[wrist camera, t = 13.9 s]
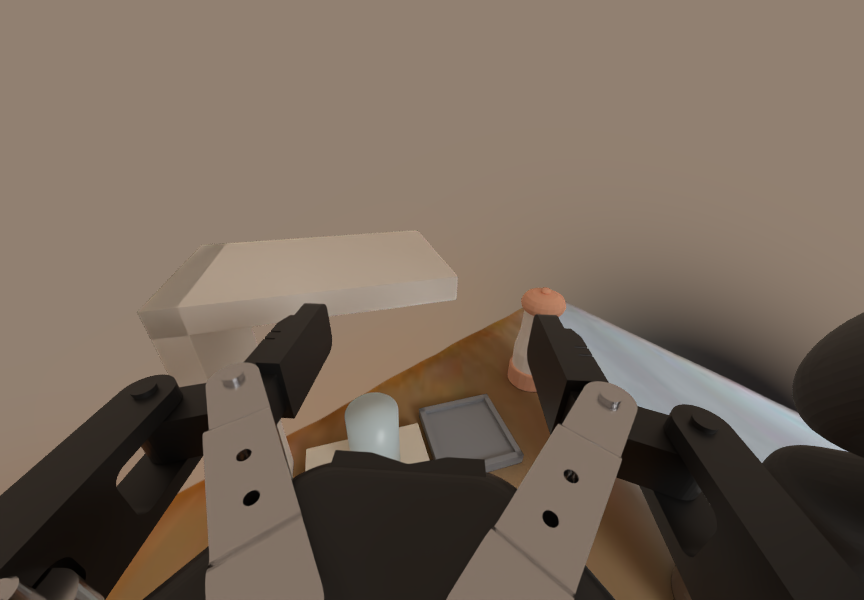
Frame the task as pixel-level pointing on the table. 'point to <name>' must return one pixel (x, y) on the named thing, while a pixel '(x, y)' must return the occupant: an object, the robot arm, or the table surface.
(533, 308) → the pepper shaker
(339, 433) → the table surface
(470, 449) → the tray
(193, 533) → the table surface
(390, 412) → the pale grey cylinder
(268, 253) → the white c-shaped stand
